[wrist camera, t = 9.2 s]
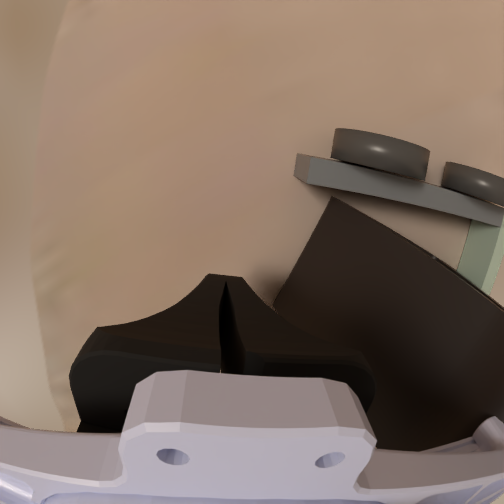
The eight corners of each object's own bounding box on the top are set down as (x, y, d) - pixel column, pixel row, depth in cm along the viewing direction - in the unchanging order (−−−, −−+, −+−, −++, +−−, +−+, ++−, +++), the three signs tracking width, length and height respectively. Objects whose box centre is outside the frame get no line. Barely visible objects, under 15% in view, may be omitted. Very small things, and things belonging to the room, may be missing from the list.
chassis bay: (424, 373, 19) (450, 410, 15) (255, 376, 18) (261, 428, 14) (491, 180, 14) (539, 195, 11) (301, 124, 13) (328, 120, 9)
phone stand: (451, 266, 16) (596, 390, 5) (397, 348, 18) (493, 501, 7) (330, 193, 14) (543, 351, 3) (271, 301, 16) (328, 542, 5)
